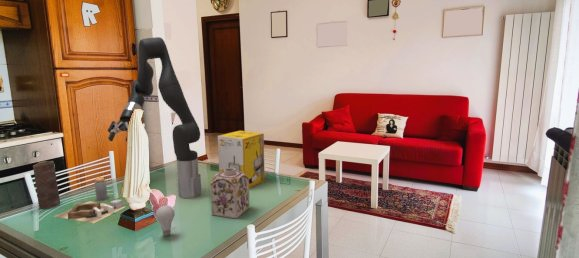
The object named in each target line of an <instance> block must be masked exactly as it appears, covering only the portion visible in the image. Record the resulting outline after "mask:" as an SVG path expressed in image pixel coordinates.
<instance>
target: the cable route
mask: <svg viewBox="0 0 579 258" xmlns="http://www.w3.org/2000/svg"><path fill="white" fill-rule="evenodd" d="M109 204H110V206H109V205H103V210H104V211H102V212H101V210H99V209H98V208H97V207H95V208H93V209H94V211H95V214H93V215H86V218H92V217H96V216H97V217H99V218H100V217H102V215H103V214H106V213H111V215H113V214H115V213H114V209H118V208H120V207H122V206H124V205H123V204H124V203H123V200H122V199H113V200H112V201H110V202H109Z"/></svg>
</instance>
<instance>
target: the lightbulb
mask: <svg viewBox="0 0 579 258" xmlns="http://www.w3.org/2000/svg"><path fill="white" fill-rule="evenodd" d="M175 214H176V213H175V210H174V208H173V207H172V206H171V205H162V206H160V207H158V209H157V210H156V212H155V218H156V220H157V222H159V225H160V228H161V230H162V234H163V236H165V237H168V236H170V235H171V230H172V224H173V223H172V222H173V220H174V218H175Z"/></svg>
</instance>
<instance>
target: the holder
mask: <svg viewBox="0 0 579 258" xmlns="http://www.w3.org/2000/svg"><path fill="white" fill-rule="evenodd" d="M100 203H101V202H98V203H90V204H84V203H82V204H75V205H74V206H73V207H72V208H73V209H72V208H71V209H72V210H71V211H70V212H69V213H68V219H67V220H71V219H73V218H84V217H86V215H93V214H95V211H94V209H93V208H95V207H97V208H98V209H100V208H101V206H100ZM81 210H89V211H81Z"/></svg>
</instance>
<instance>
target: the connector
mask: <svg viewBox="0 0 579 258" xmlns="http://www.w3.org/2000/svg"><path fill="white" fill-rule="evenodd" d="M93 184H94V190H95V199H96V200H95V201H96V202H97V201H105V200H107V199H108V198H109V197H108V190H107V189H108V188H107V187H108V186H107V180H105V178H104V177H103V176H99V177H96V178H95V181H94V183H93Z"/></svg>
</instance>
